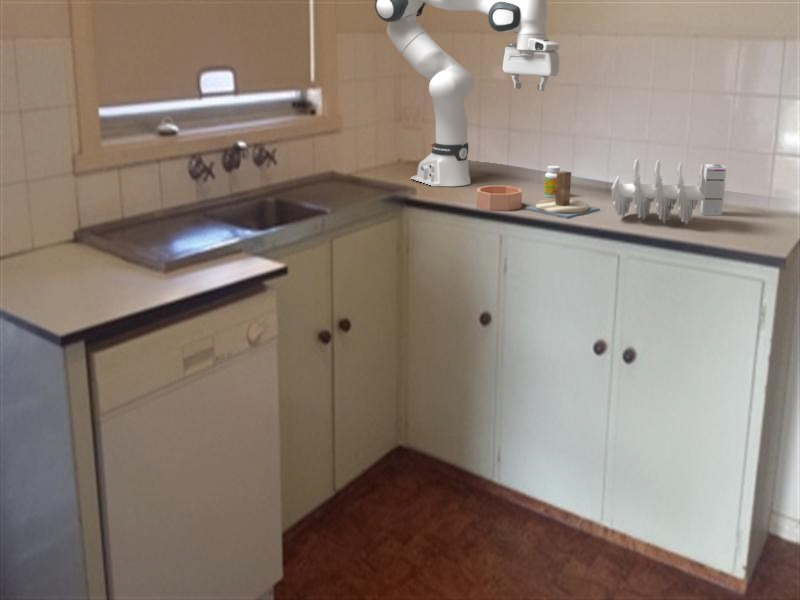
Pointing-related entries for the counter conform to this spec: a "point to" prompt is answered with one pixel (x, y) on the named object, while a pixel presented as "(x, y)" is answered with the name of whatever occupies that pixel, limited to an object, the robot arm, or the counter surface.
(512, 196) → the bowl
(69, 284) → the counter surface
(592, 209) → the mat
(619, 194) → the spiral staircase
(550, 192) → the supplement bottle
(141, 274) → the counter surface
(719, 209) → the syrup box
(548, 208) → the lid
